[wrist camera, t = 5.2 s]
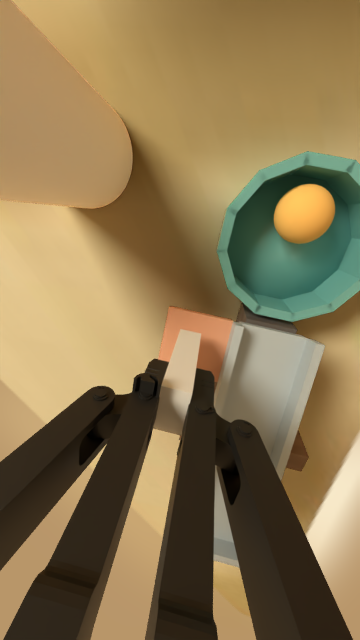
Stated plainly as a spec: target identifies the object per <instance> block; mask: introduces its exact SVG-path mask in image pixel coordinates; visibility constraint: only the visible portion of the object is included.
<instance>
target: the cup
mask: <svg viewBox="0 0 360 640" xmlns="http://www.w3.org/2000/svg"><path fill="white" fill-rule="evenodd" d="M132 164H133V152H132V145H131V140H130V137H129V134H128V131H127V129H126V126H125V124H124V123H123V121H122V119H121V118H120V116H119V115H118V114H117V112H116V111H115V110H114V109H113V108H112V107H111V106H110V105H109V104H108V103H107V102H106V100H105V99H104V98H103V97H102V96H101V95H100V94H99V93H98V92H97V91H96V90H95V89H94V88H93V87H92V86H91V84H90V83H89V82H88V81H87V80H86V79H85V78H84V77H83V76H82V75H81V74H80V73H79V72H78V71H77V70H76V68H75V67H74V66H73V65H72V64H71V63H70V62H69V61H68V60H67V59H66V58H65V57H64V56H63V55H62V54H61V52H60V51H59V50H58V49H57V48H56V47H55V46H54V45H53V44H52V43H51V42H50V41H49V40H48V39H47V38H46V37H45V35H44V34H43V33H42V32H41V31H40V30H39V29H38V28H37V27H36V26H35V25H34V24H33V23H32V22H31V21H30V19H29V18H28V17H27V16H26V15H25V14H24V13H23V12H22V11H21V10H20V9H19V8H18V7H17V6H16V5H15V3H14V2H13V1H12V0H0V200H3V201H14V202H24V203H35V204H46V205H56V206H67V207H78V208H89V209H94V208H100V207H104V206H106V205H108V204H110V203H112V202H113V201H115V200H116V199H117V198H118V197H119V196H120V195H121V193H122V192H123V191H124V189H125V187H126V186H127V183H128V181H129V178H130V175H131V171H132Z"/></svg>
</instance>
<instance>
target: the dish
mask: <svg viewBox="0 0 360 640" xmlns="http://www.w3.org/2000/svg"><path fill="white" fill-rule="evenodd" d="M303 184H316V185H320V186H322V187H324V188H325V189H326V190H328V191H329V192H330V194H331V195H332V197H333V199H334V203H335V215H334V218H333V221H332V223H331V225H330V227H329V228H328V229H327V231H326V232H325V233H324V234H323V235H321V236H320V237H319V238H317V239H315V240H313V241H311V242H308V243H303V244H296V243H291V242H288V241H286V240H284V239H283V238H282V237H281V236H280V235H279V234H278V232H277V231H276V229H275V225H274V212H275V209H276V206H277V204H278V202H279V201H280V199H281V198H282V197H283V196H284V195H285V194H286V193H287V192H288V191H289V190H291V189H293V188H294V187H297V186H299V185H303ZM217 254H218V257H219V260H220V264H221V267H222V271H223V274H224V278H225V281H226V285H227V288H228V289H229V290H230V291H231V292H232V293H233V294H234V295H235V296H236V297H237V298H238V299H240V300H241V301H242V302H243V303H244V304H245V305H246V306H247V307H248V308H249V309H250V310H252V311H253V312H254V313H255V314H259V315H264V316H268V317H273V318H277V319H282V320H286V321H291V322H293V321H297V320H302V319H306V318H310V317H314V316H318V315H322V314H326V313H330V312H333V311H335V310H336V309H337V308H338V307H340V306H341V305H342V304H343V303H345V302H346V301H347V300H348V299H350V298H351V297H352V296H354V295H355V294H356V293H357V292H359V291H360V164H359V163H358V162H357V161H356V160H353V159H347V158H342V157H336V156H331V155H325V154H320V153H314V152H309V151H307V152H304V153H302V154H299V155H297V156H294V157H292V158H289V159H287V160H284V161H282V162H279V163H277V164H274V165H272V166H269V167H267V168H264V169H262V170H259V171H258V173H257V174H256V175H255V176H254V177H253V179H252V180H251V181H250V182H249V183H248V184H247V186H246V187H245V188H244V189H243V190H242V191H241V193H240V194H239V195H238V196H237V197H236V198H235V200H234V201H233V202H232V203H231V204H230V205H229V207H228V208H227V209H226V210H225V215H224V219H223V223H222V227H221V232H220V236H219V240H218V244H217Z"/></svg>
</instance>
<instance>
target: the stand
mask: <svg viewBox="0 0 360 640" xmlns="http://www.w3.org/2000/svg"><path fill="white" fill-rule="evenodd" d="M239 321H240V322H245V323H249V324H254V325H258V326H263V327H267V328H271V329H276V330H280V331H285V332H289V333H293V334H296V332H297V329H296V328H295V326H294V325H293V323H292V322H291V321H286V320H282V319H277V318H273V317H268V316H264V315H259V314H255V313H254V312H253V311H252V310H250V309H249V308H248V307H247V306H246V305H245V304H244V303H243V302H242V303H241V306H240V310H239V313H238V316H237V320H236V322H238V323H239ZM216 386H217V382H214V394H215V390H216ZM179 440H181V435H180V438H179ZM308 458H309V457H308V454H307V452H306V449H305V446H304V444H303V441H302V438H301V436H300V433H299V431H297V434H296V437H295V440H294V443H293V447H292V450H291V453H290V456H289V459H288V462H287V465H286V468H290V469H294V470H298V471H302V469H303V467H304V465H305V463H306V462H307V460H308Z"/></svg>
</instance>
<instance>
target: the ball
mask: <svg viewBox="0 0 360 640" xmlns="http://www.w3.org/2000/svg"><path fill="white" fill-rule="evenodd" d="M334 215H335V203H334V199H333V197H332V195H331V194H330V192H329V191H328V190H326V189H325V188H324V187H322V186H320V185H316V184H303V185H299V186H297V187H294V188H293V189H291V190H289V191H288V192H287V193H286V194H285V195H284V196H283V197H282V198H281V199H280V201H279V202H278V204H277V206H276V209H275V212H274V225H275V229H276V231H277V232H278V234H279V235H280V236H281V237H282V238H283V239H284V240H286V241H288V242H291V243H296V244H303V243H308V242H311V241H313V240H315V239H317V238H319V237H320V236H321V235H323V234H324V233H325V232H326V231H327V229H328V228H329V227H330V225H331V223H332V221H333V218H334Z"/></svg>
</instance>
